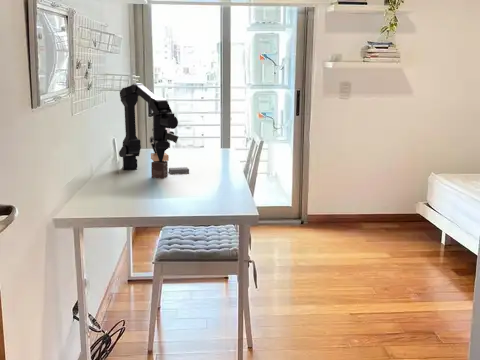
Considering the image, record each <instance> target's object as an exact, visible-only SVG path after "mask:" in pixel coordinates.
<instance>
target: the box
mask: <svg viewBox="0 0 480 360" xmlns="http://www.w3.org/2000/svg"><path fill="white" fill-rule="evenodd" d="M168 163H169V162H168V161H162V162H160V161H153V160H152V162H151V163H150V164H151V178H152V179H166V178H167V177H168V176H169V168H168V167H169V166H168Z"/></svg>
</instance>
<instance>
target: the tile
mask: <svg viewBox="0 0 480 360" xmlns="http://www.w3.org/2000/svg"><path fill="white" fill-rule="evenodd" d="M169 157H170V155H169V154H168V153H166V152H165V153H164V156H163V160H162V161H169V159H170V158H169ZM150 159H151V160H152V162H153V161H159V159H158V156H157V153H154V152H153V153H152V152H151V153H150Z"/></svg>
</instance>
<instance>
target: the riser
mask: <svg viewBox="0 0 480 360" xmlns="http://www.w3.org/2000/svg"><path fill="white" fill-rule="evenodd" d="M189 173H190V168H188V167H187V166H186V167H185V166H184V167H182V166H181V167H169V168H168V174H171V175H175V174H176V175H177V174H179V175H181V174H189Z"/></svg>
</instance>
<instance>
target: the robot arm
mask: <svg viewBox="0 0 480 360" xmlns="http://www.w3.org/2000/svg"><path fill="white" fill-rule="evenodd" d="M119 97H120V102H121V103H122V105H123V107H124V125H125V126H124V128H125V129H124V130H125V136H124V139H123V141H122V147H121V148H120V150H119V152H118V155H119V157H121V158H122V166H121V167H122V170H124V171H125V170H126V171H127V170H138V159H137V157H140V153H141V148H142V146H141V142H142V141H141V139H139V138H138V137H137V126H136V124H137V123H136V105H137V103H138V102H139V97H141V98H142V100H144V101H146V102H147V104H148V107H149V109H150V110H151V111H152V113H150V116H151V117H152V136H150V137H149V143H150V145H151V148H152V150H153V153H157V156H158V159H159V161H160V162H162V160H163V156H164V153H166V151H167V149H168V150H169V148H171V144H170V142H173V143H175V144H177V142H178V140H179V136H178V135H177V134H175V132H174V131H172V130H173V129H177V127H178V125H179V120H178V117H177V116H175V113H173V111H172V108H171V107H170V105H169V101H168V99H166V98H164V97H161V96H157V95H156V94H155V93H153V92H152V91H151V90H150V89H148V88H147V86H145V85H144V83H137V82H136V83H133V84H131V85H129V86H125V87H122V88H121V89H120V91H119ZM168 129H171V130H170V131H168ZM169 141H170V142H169Z"/></svg>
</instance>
